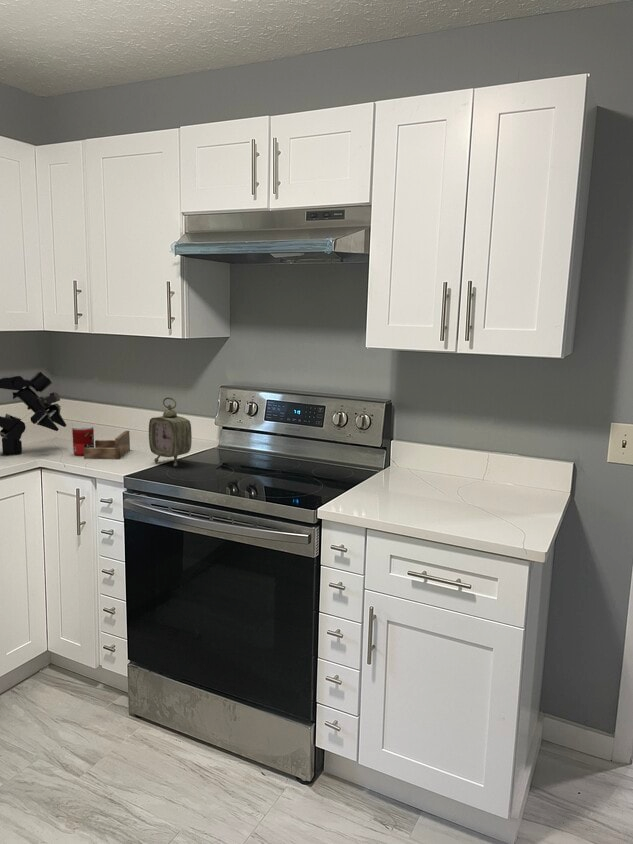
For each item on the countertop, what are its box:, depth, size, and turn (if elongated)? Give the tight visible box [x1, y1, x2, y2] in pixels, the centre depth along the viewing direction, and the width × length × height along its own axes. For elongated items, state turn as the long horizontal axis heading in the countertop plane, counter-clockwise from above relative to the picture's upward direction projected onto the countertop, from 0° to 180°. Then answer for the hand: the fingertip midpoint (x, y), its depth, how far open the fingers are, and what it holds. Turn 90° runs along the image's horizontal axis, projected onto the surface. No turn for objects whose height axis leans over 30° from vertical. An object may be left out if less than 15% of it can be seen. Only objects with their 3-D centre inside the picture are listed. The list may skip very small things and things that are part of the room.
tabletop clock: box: [148, 397, 193, 467], centre depth 238 cm, size 14×9×25 cm, turn 54°
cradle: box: [83, 430, 131, 460], centre depth 253 cm, size 14×16×8 cm
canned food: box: [71, 424, 95, 457], centre depth 252 cm, size 8×8×11 cm
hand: (61, 428), depth 255 cm, fingers open, 9 cm apart
